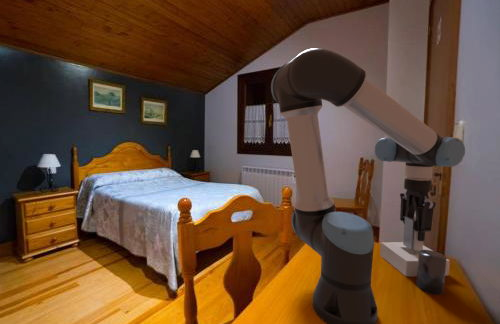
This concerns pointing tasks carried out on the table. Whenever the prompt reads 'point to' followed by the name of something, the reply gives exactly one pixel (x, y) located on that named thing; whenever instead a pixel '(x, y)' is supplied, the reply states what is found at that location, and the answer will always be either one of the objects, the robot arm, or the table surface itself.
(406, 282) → the table surface
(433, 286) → the cylinder
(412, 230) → the square bit
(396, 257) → the socket block
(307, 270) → the table surface
